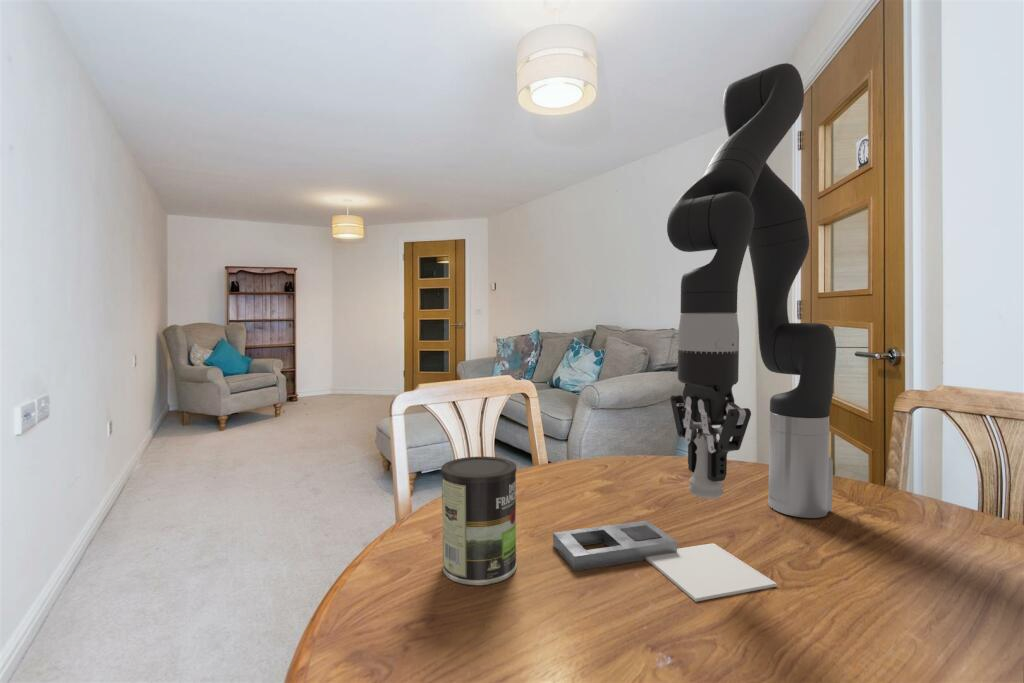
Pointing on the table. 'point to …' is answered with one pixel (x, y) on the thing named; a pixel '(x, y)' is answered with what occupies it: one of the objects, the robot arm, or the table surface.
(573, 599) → the table surface
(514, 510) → the coffee can
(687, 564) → the mat
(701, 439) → the rook chess piece
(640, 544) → the grey rectangular frame
